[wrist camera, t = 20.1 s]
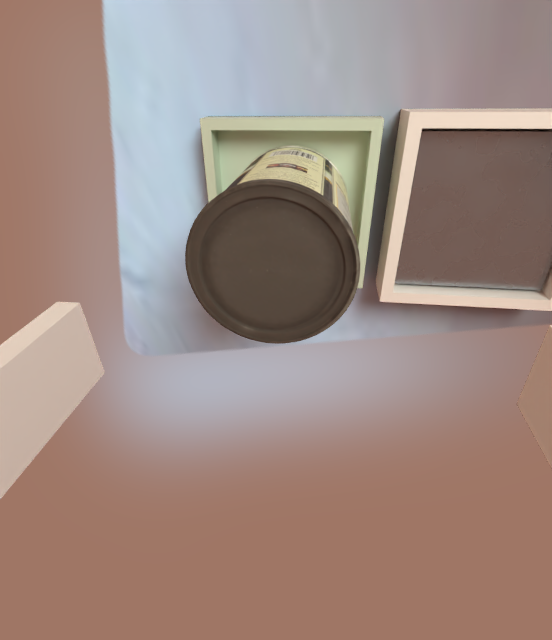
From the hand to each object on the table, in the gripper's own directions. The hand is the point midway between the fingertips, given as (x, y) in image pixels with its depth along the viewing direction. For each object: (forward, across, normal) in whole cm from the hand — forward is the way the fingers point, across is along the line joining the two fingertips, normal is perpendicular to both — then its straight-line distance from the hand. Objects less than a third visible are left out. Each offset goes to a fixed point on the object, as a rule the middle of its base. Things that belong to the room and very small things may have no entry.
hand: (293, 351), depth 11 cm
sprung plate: (+24, -13, +3) cm, 27 cm away
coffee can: (+25, +3, +3) cm, 25 cm away
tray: (+26, +3, +2) cm, 26 cm away
